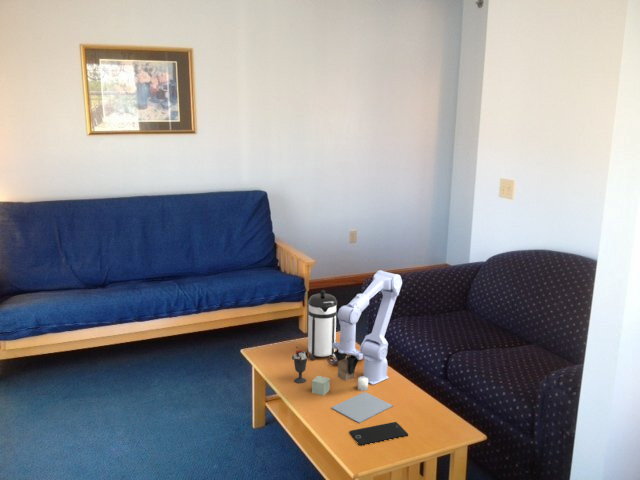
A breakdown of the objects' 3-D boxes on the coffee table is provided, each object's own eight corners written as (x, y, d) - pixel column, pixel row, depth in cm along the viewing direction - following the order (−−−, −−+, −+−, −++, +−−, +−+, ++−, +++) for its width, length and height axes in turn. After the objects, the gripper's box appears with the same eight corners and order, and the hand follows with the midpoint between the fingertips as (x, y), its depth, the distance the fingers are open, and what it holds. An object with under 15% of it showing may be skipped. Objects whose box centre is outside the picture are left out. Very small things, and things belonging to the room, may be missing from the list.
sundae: (289, 382, 233) (289, 347, 230) (296, 375, 239) (296, 341, 236) (304, 385, 231) (304, 350, 228) (311, 378, 237) (311, 343, 234)
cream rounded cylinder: (362, 385, 232) (362, 375, 231) (369, 388, 229) (370, 379, 229) (355, 388, 230) (355, 378, 229) (362, 392, 227) (363, 382, 226)
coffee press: (346, 353, 261) (348, 289, 255) (323, 365, 250) (324, 297, 243) (317, 343, 273) (318, 281, 266) (293, 353, 261) (294, 288, 254)
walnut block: (346, 373, 227) (346, 357, 226) (354, 377, 224) (354, 361, 223) (337, 376, 224) (338, 361, 223) (345, 381, 221) (346, 365, 220)
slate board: (364, 392, 226) (364, 391, 226) (392, 406, 216) (392, 405, 216) (331, 408, 214) (331, 407, 214) (359, 423, 204) (359, 422, 204)
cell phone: (348, 433, 199) (348, 430, 198) (396, 423, 205) (396, 421, 205) (359, 447, 191) (360, 444, 190) (408, 437, 197) (408, 434, 197)
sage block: (317, 387, 230) (318, 375, 229) (329, 390, 228) (329, 378, 227) (311, 392, 226) (312, 380, 224) (323, 395, 223) (323, 383, 222)
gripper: (326, 334, 224) (326, 367, 227) (353, 346, 213) (352, 380, 216) (340, 330, 228) (339, 362, 231) (367, 341, 218) (366, 375, 221)
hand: (346, 371), depth 224 cm, fingers closed on walnut block, 4 cm apart
